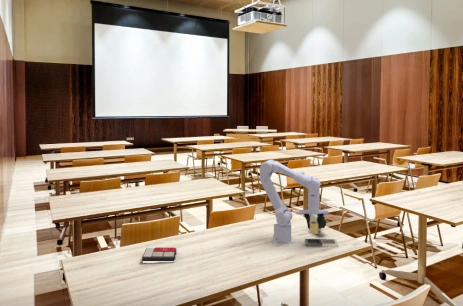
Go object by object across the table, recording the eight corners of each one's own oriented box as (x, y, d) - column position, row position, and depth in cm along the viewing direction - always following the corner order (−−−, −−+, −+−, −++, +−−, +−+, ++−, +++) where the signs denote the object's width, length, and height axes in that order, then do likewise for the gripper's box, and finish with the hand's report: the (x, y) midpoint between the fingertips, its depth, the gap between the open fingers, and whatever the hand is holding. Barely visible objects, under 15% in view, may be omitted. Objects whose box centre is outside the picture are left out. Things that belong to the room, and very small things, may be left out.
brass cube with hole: (309, 233, 189) (309, 223, 188) (308, 230, 193) (308, 220, 192) (318, 233, 189) (318, 223, 188) (316, 230, 193) (317, 220, 192)
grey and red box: (174, 256, 174) (142, 255, 173) (174, 264, 175) (142, 264, 174) (176, 246, 185) (146, 246, 184) (176, 254, 186) (146, 254, 185)
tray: (306, 247, 189) (306, 244, 189) (304, 241, 196) (304, 238, 195) (338, 247, 188) (338, 244, 187) (335, 241, 194) (335, 238, 194)
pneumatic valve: (318, 238, 200) (318, 216, 198) (308, 230, 211) (308, 210, 209) (327, 236, 201) (327, 215, 200) (317, 229, 213) (317, 209, 211)
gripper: (300, 204, 185) (300, 230, 187) (329, 204, 184) (329, 230, 186) (298, 200, 192) (298, 225, 194) (327, 200, 191) (326, 225, 193)
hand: (313, 227), depth 191 cm, fingers closed on brass cube with hole, 4 cm apart
